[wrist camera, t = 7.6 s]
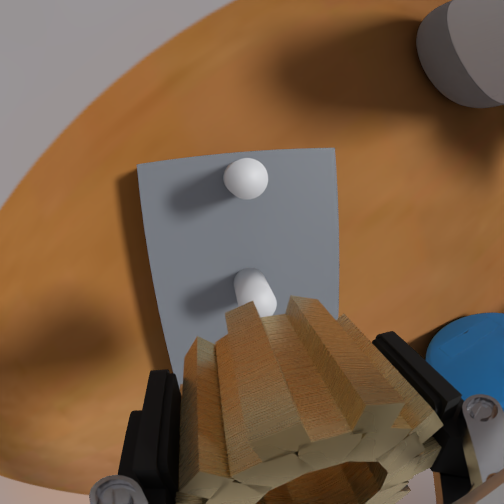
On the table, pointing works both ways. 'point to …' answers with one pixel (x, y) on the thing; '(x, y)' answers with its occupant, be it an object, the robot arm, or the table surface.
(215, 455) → the brass gear
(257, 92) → the table surface
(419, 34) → the smart speaker
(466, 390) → the alarm clock
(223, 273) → the gear board
